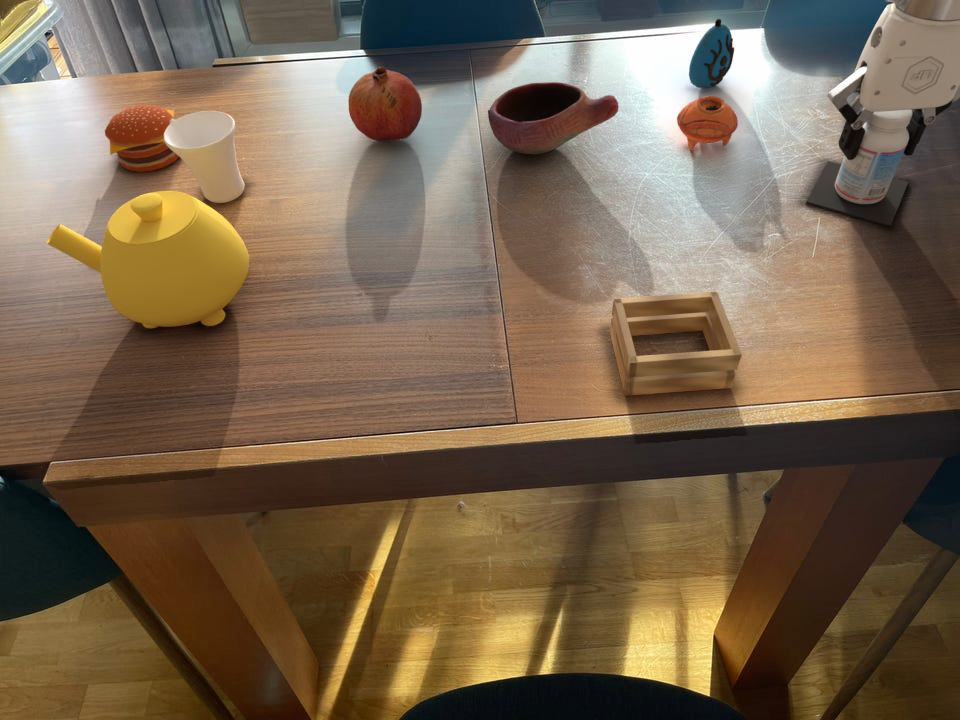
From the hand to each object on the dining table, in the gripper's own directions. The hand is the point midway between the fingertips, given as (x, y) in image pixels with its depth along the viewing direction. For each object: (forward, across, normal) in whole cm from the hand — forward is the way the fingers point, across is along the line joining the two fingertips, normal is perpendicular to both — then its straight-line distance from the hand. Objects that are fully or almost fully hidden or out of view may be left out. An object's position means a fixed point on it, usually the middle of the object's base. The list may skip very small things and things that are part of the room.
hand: (875, 150), depth 88 cm
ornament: (+6, -11, +29) cm, 32 cm away
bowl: (+6, -37, +17) cm, 41 cm away
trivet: (+6, 0, 0) cm, 6 cm away
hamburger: (+6, -94, +21) cm, 97 cm away
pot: (+6, -16, +14) cm, 22 cm away
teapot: (+6, -84, -10) cm, 85 cm away
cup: (+6, -82, +10) cm, 83 cm away
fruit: (+6, -60, +21) cm, 64 cm away
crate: (+6, -30, -25) cm, 39 cm away
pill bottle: (+6, 0, 0) cm, 6 cm away
